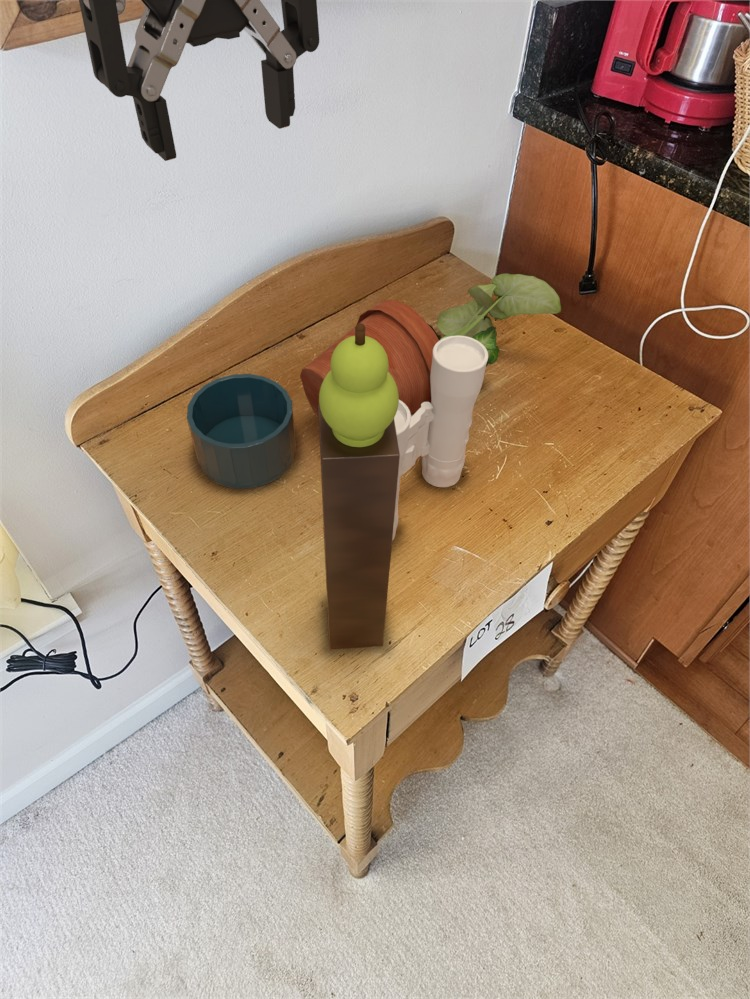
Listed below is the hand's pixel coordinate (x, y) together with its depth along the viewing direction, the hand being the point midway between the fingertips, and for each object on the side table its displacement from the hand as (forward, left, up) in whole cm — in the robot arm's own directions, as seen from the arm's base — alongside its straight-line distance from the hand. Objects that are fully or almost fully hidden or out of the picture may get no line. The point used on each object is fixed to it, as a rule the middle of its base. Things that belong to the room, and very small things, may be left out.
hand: (223, 139), depth 47 cm
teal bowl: (-3, +8, -40) cm, 41 cm away
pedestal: (+8, -16, -40) cm, 44 cm away
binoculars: (+15, -1, -40) cm, 43 cm away
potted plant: (+20, +18, -40) cm, 49 cm away
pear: (+8, -16, -12) cm, 22 cm away
